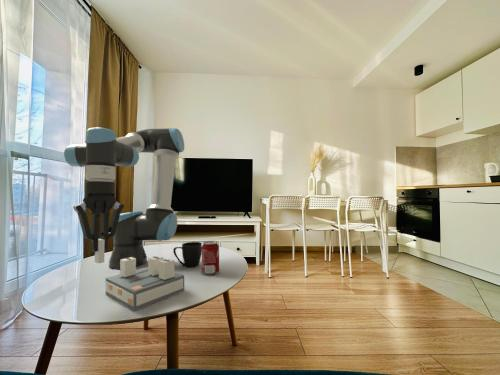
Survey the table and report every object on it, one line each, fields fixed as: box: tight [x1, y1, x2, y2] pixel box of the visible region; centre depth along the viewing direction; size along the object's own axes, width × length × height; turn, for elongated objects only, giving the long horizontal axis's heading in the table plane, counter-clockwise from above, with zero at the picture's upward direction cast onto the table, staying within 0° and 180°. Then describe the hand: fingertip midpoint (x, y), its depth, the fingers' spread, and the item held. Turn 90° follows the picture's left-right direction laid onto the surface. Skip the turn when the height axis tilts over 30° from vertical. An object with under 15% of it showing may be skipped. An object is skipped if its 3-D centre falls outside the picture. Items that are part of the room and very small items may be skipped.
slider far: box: [119, 257, 137, 277], centre depth 76 cm, size 3×4×5 cm
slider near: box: [159, 258, 175, 280], centre depth 74 cm, size 3×4×5 cm
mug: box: [172, 241, 203, 269], centre depth 102 cm, size 8×12×10 cm
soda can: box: [201, 240, 220, 276], centre depth 94 cm, size 7×7×12 cm
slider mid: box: [147, 255, 164, 276], centre depth 77 cm, size 3×4×5 cm
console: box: [105, 266, 185, 311], centre depth 75 cm, size 18×16×5 cm
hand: (99, 262), depth 70 cm, fingers closed
